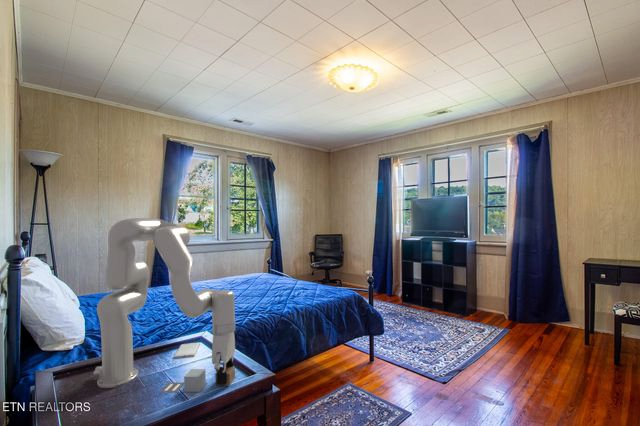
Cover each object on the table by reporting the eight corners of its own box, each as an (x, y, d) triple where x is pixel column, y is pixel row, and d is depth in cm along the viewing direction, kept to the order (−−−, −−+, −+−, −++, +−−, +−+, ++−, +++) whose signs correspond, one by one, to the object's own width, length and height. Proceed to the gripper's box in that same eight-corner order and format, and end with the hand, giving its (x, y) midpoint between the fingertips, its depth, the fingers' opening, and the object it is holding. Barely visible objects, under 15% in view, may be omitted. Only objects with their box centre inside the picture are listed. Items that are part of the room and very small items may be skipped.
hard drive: (181, 344, 142) (173, 356, 130) (200, 342, 144) (194, 354, 131) (181, 347, 142) (173, 360, 130) (200, 345, 144) (194, 357, 131)
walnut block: (215, 388, 107) (215, 373, 107) (221, 380, 112) (221, 366, 112) (230, 388, 107) (229, 374, 107) (235, 380, 112) (234, 366, 112)
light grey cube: (184, 391, 104) (184, 376, 104) (191, 383, 109) (191, 369, 109) (199, 391, 103) (198, 376, 103) (205, 383, 108) (205, 369, 108)
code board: (152, 397, 102) (152, 395, 102) (169, 381, 112) (169, 379, 112) (200, 398, 101) (200, 396, 101) (213, 381, 111) (213, 379, 111)
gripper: (223, 318, 118) (224, 366, 118) (202, 336, 101) (204, 392, 101) (242, 318, 118) (243, 366, 118) (225, 336, 101) (226, 393, 101)
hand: (225, 378), depth 109 cm, fingers open, 5 cm apart
